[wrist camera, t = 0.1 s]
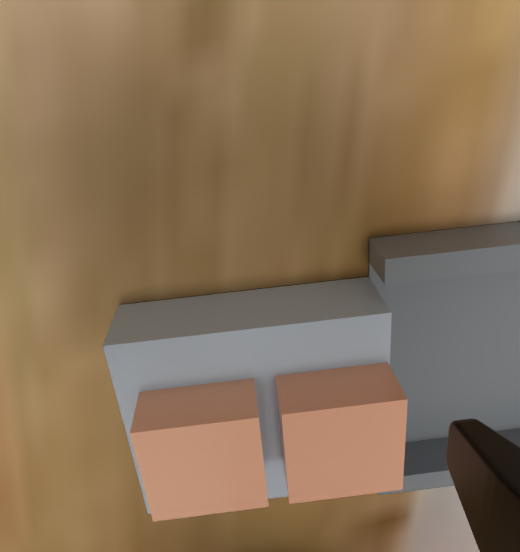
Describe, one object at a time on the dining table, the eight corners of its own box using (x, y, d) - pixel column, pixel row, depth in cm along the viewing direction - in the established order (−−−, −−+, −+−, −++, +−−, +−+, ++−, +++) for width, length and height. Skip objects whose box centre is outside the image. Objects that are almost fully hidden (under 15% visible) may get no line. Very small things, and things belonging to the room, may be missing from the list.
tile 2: (263, 462, 23) (268, 506, 21) (159, 475, 23) (153, 521, 21) (254, 378, 21) (258, 417, 19) (139, 391, 21) (129, 433, 19)
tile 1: (384, 446, 24) (402, 489, 21) (282, 459, 23) (289, 504, 21) (387, 362, 21) (407, 399, 19) (274, 375, 21) (281, 414, 19)
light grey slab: (366, 434, 28) (385, 483, 25) (156, 460, 27) (148, 514, 24) (368, 276, 23) (391, 312, 20) (118, 305, 23) (102, 346, 20)
